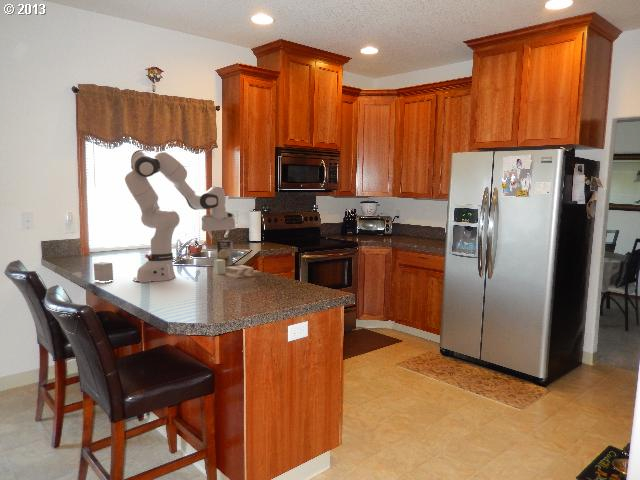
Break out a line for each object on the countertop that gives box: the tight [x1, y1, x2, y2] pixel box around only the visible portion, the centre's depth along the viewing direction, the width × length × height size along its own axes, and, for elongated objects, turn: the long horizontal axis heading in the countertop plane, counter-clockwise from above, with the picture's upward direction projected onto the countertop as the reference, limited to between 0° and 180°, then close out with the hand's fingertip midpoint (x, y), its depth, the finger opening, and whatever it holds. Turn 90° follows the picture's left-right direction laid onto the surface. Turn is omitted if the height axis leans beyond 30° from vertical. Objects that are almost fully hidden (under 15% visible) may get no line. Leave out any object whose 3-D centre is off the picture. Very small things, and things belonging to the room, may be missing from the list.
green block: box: [213, 259, 226, 275], centre depth 280 cm, size 5×5×8 cm
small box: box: [93, 261, 114, 281], centre depth 254 cm, size 8×6×10 cm
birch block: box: [224, 264, 255, 279], centre depth 274 cm, size 12×12×5 cm
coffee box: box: [216, 239, 234, 266], centre depth 312 cm, size 9×6×16 cm
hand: (218, 237), depth 278 cm, fingers open, 8 cm apart
